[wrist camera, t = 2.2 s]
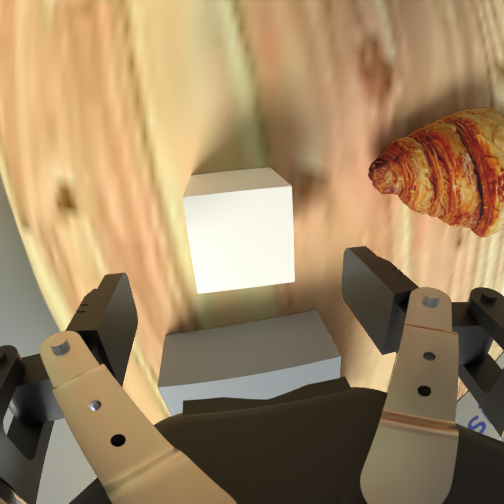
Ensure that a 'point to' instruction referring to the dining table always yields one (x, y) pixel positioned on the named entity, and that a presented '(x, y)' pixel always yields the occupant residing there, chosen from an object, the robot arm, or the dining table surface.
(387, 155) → the croissant
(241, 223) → the white block
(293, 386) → the grey box
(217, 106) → the dining table surface
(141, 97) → the dining table surface
